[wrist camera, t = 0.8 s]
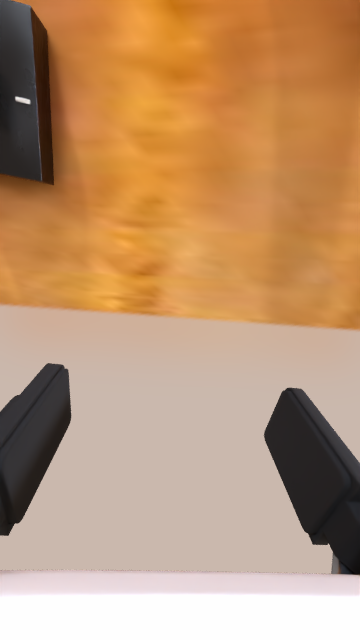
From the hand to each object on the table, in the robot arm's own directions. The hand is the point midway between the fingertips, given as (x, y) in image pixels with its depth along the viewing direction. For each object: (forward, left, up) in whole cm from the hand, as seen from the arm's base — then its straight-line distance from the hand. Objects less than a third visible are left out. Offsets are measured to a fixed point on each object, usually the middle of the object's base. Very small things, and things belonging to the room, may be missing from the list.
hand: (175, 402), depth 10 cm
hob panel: (-16, -22, -26) cm, 38 cm away
